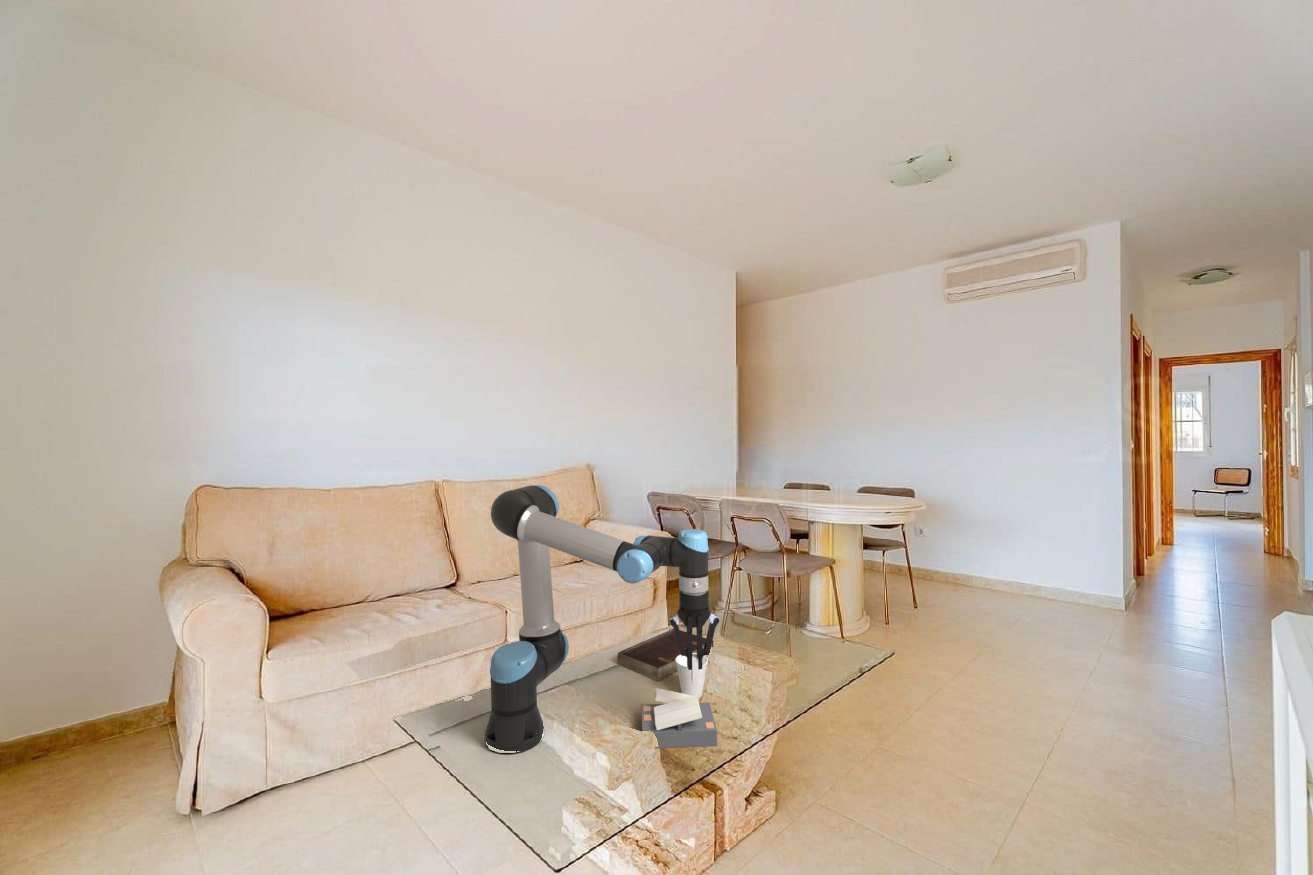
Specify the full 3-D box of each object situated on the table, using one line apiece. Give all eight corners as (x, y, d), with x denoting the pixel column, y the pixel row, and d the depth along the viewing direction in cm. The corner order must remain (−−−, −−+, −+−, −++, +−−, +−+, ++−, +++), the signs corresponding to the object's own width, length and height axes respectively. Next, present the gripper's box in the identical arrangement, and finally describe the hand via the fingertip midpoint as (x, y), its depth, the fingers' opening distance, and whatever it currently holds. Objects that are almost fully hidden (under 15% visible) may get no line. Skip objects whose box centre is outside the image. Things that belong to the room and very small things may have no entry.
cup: (706, 705, 162) (706, 668, 162) (672, 702, 164) (672, 665, 164) (710, 688, 172) (710, 653, 171) (678, 685, 174) (678, 651, 173)
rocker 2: (656, 730, 142) (655, 724, 142) (656, 722, 145) (654, 716, 145) (702, 717, 142) (700, 711, 142) (700, 709, 146) (699, 703, 146)
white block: (656, 720, 146) (654, 714, 146) (655, 712, 150) (653, 706, 150) (700, 707, 147) (698, 702, 147) (698, 700, 151) (696, 695, 150)
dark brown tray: (673, 640, 211) (673, 627, 210) (713, 654, 198) (713, 640, 198) (617, 665, 189) (617, 651, 189) (657, 683, 177) (657, 667, 176)
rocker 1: (655, 700, 151) (656, 694, 151) (654, 693, 155) (655, 687, 155) (697, 709, 152) (699, 703, 152) (696, 702, 155) (697, 696, 155)
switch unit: (642, 748, 141) (642, 727, 141) (641, 718, 155) (641, 699, 155) (717, 745, 142) (717, 724, 142) (709, 716, 156) (709, 697, 156)
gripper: (669, 596, 139) (670, 689, 139) (721, 594, 139) (722, 687, 140) (667, 587, 146) (668, 675, 147) (716, 585, 147) (717, 673, 148)
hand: (694, 681), depth 144 cm, fingers closed
